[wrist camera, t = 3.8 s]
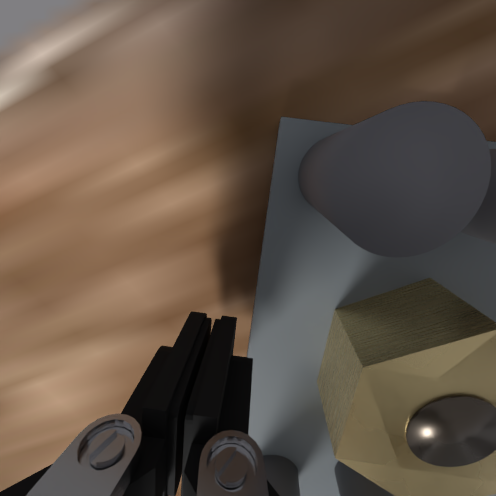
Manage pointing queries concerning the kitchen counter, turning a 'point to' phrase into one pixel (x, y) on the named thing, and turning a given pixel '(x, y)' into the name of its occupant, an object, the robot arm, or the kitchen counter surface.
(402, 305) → the nut
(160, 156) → the kitchen counter surface
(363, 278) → the spacer board
